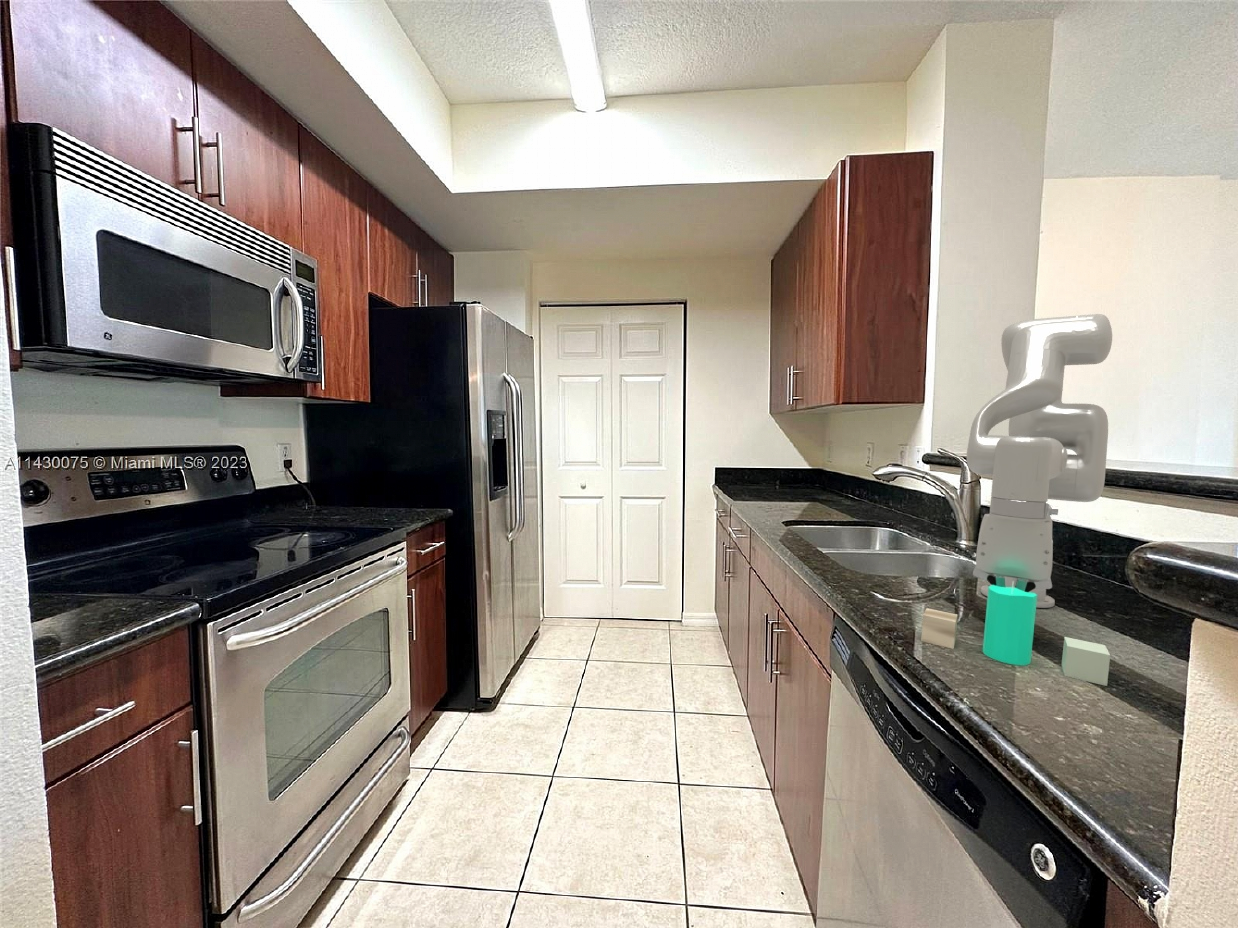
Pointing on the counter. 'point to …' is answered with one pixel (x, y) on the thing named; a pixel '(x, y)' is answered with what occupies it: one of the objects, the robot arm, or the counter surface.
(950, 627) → the birch block
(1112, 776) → the counter surface
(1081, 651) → the sage block
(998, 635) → the candle
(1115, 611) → the counter surface
